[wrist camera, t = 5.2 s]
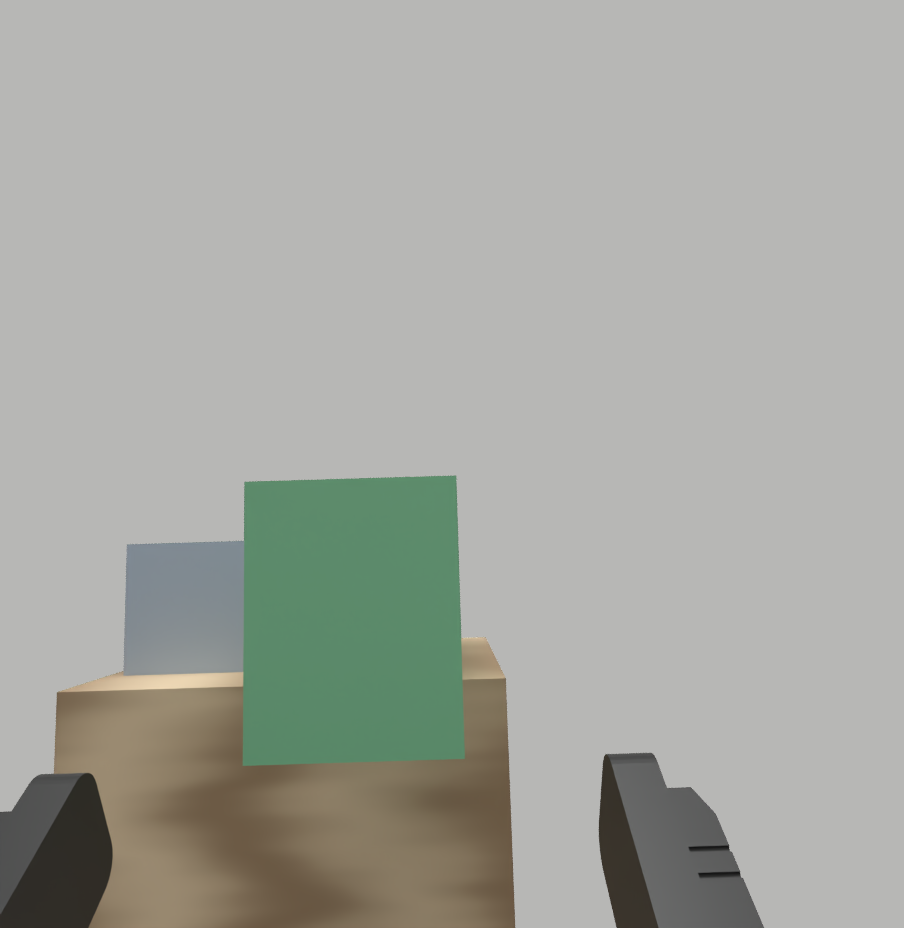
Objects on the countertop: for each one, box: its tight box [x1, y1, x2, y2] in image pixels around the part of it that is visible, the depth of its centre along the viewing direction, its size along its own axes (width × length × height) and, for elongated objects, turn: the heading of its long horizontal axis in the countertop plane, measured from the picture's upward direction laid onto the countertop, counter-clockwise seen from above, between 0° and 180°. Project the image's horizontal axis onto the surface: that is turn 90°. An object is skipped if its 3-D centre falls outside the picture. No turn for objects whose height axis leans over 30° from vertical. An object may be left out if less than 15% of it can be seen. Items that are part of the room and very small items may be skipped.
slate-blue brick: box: [123, 541, 244, 676], centre depth 27 cm, size 4×6×4 cm, turn 0°
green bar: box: [243, 476, 465, 766], centre depth 22 cm, size 4×20×4 cm, turn 0°
